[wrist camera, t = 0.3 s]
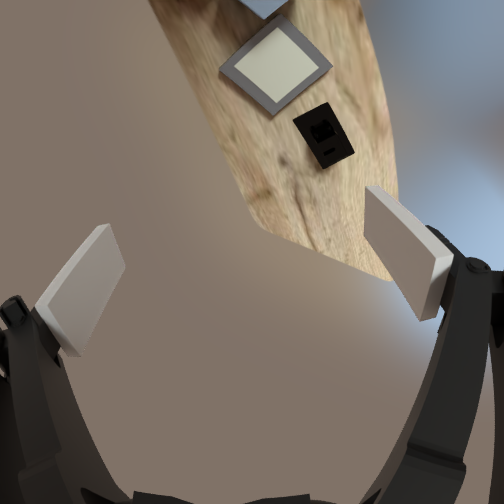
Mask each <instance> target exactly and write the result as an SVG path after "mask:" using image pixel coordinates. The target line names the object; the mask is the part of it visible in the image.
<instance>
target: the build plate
mask: <svg viewBox="0 0 504 504" xmlns="http://www.w3.org/2000/svg"><path fill="white" fill-rule="evenodd" d="M293 122H294V124H295V125H296V127H297V128H298V130H299V131H300V133H301V134H302V136H303V138H304V139H305V141H306V142H307V144H308V146H309V147H310V149H311V150H312V152H313V154H314V155H315V157H316V159H317V160H318V162H319V163H320V165H321V167H322V169H325V168H327V167H329V166H331V165H333V164H335V163H337V162H339V161H341V160H342V159H344V158H346V157H348V156H350V155H352V154H354V153H355V152H354V150H353V148H352V146H351V144H350V142H349V140H348V138H347V136H346V134H345V132H344V130H343V128H342V126H341V125H340V123H339V121H338V119H337V117H336V115H335V114H334V112H333V110H332V108H331V107H330V105H329V103H328V102H326V103H324V104H322V105H320V106H318V107H316V108H314V109H312V110H310V111H308V112H306V113H304V114H302V115H300V116H299V117H297V118H295V119H293Z"/></svg>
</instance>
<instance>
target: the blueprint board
mask: <svg viewBox="0 0 504 504" xmlns="http://www.w3.org/2000/svg"><path fill="white" fill-rule="evenodd" d="M332 67H333V65H332V64H331V63H330V62H329V61H328V60H327V59H326V58H325V57H324V56H323V54H322V53H321V52H320V51H319V50H318V49H317V48H316V47H315V46H314V45H313V44H312V43H311V42H310V41H309V40H308V39H307V38H306V37H305V36H304V35H303V34H302V33H301V32H300V31H299V30H298V29H297V28H296V27H295V26H294V25H293V24H292V23H291V22H289V21H288V20H287V19H286V18H285V17H284V16H283V15H282V14H278V15H277V16H276V17H274V18H273V19H272V20H271V21H270V22H268V23H267V24H266V25H265V26H264V27H263V28H261V29H260V30H259V31H258V32H257V33H256V34H255V35H253V36H252V37H251V38H250V39H249V40H248V41H247V42H246V43H245V44H244V45H242V46H241V47H240V48H239V49H238V50H237V51H236V52H235V53H234V54H233V55H232V56H231V57H230V58H229V59H228V60H227V61H226V62H225V63H224V64H223V65H222V66H221V67H220V68H219V70H220V71H221V72H222V73H224V74H225V75H226V76H227V77H229V78H230V79H231V80H232V81H233V82H235V83H236V84H237V85H238V86H240V87H241V88H242V89H243V90H244V91H246V92H247V93H248V94H249V95H250V96H251V97H253V98H254V99H255V100H256V101H257V102H258V103H259V104H261V105H262V106H263V107H264V108H265V109H266V110H267V111H269V112H270V113H271V114H272V115H273V116H274V115H275V114H276V113H277V112H278V111H279V110H280V109H282V108H283V107H284V106H285V105H286V104H287V103H289V102H290V101H291V100H292V99H293V98H295V97H296V96H297V95H298V94H299V93H301V92H302V91H303V90H304V89H305V88H307V87H308V86H309V85H310V84H312V83H313V82H314V81H315V80H317V79H318V78H319V77H320V76H322V75H323V74H324V73H325V72H327V71H328V70H329V69H331V68H332Z"/></svg>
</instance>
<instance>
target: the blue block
mask: <svg viewBox="0 0 504 504" xmlns="http://www.w3.org/2000/svg"><path fill="white" fill-rule="evenodd" d="M238 1H240V2H241V3H242V4H244V5H245V6H246V7H247V8H249V9H250V10H251V11H252V12H254V13H255V14H256V15H257V16H258V17H260V18H261V19H265V18H267V17H268V16H269V15H270V14H271V13H273V12H274V11H275V10H276V9H278V8H279V7H280V6H281V5H283V4H284V3H285V2H286V1H288V0H238Z"/></svg>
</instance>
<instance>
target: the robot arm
mask: <svg viewBox="0 0 504 504" xmlns="http://www.w3.org/2000/svg"><path fill="white" fill-rule="evenodd" d="M364 237H365V238H366V239H367V241H368V242H369V244H370V245H371V247H372V248H373V249H374V251H375V252H376V254H377V255H378V257H379V258H380V260H381V261H382V263H383V264H384V266H385V267H386V269H387V270H388V272H389V273H390V275H391V276H392V278H393V279H394V281H395V282H396V284H397V285H398V287H399V289H400V290H401V292H402V293H403V295H404V297H405V298H406V300H407V302H408V303H409V305H410V306H411V308H412V310H413V311H414V313H415V315H416V316H417V318H418V320H419V321H424V320H428V319H431V318H435V317H436V315H437V313H438V309H439V306H440V305H441V307H442V308H443V310H444V311H445V313H444V316H443V319H442V322H441V325H440V327H439V330H438V332H437V333H438V337H437V340H436V344H435V347H434V350H433V354H432V357H431V360H430V363H429V366H428V369H427V371H426V374H425V377H424V380H423V383H422V385H421V388H420V390H419V393H418V395H417V398H416V400H415V403H414V405H413V408H412V410H411V412H410V415H409V417H408V419H407V421H406V424H405V426H404V428H403V430H402V432H401V434H400V436H399V438H398V440H397V442H396V444H395V446H394V448H393V450H392V452H391V454H390V456H389V458H388V460H387V461H386V463H385V465H384V467H383V469H382V470H381V472H380V474H379V475H378V477H377V478H376V480H375V481H374V483H373V484H372V486H371V487H370V488H369V490H368V492H367V493H366V494H365V496H364V497H363V499H362V500H361V502H360V503H359V504H454V503H455V500H456V498H457V496H458V493H459V491H460V489H461V486H462V484H463V481H464V478H465V474H466V465H465V464H464V463H463V456H464V453H465V450H466V447H467V444H468V440H469V437H470V433H471V430H472V426H473V423H474V419H475V416H476V412H477V407H478V403H479V398H480V394H481V389H482V384H483V378H484V372H485V367H486V359H487V352H488V344H489V347H490V354H491V363H492V373H493V384H494V402H495V442H494V459H493V471H492V479H491V487H490V495H489V503H488V504H504V271H491V268H490V267H489V266H488V264H486V263H485V262H484V261H482V260H480V259H477V258H473V257H468V258H466V257H465V256H464V255H463V254H462V253H461V252H460V251H459V250H458V249H457V248H456V247H455V246H454V245H453V244H452V243H450V242H449V240H448V239H447V238H445V236H443V234H441V233H440V232H439V231H438V230H437V229H435V228H433V227H431V226H429V225H426V226H424V225H423V224H422V223H421V222H420V221H419V220H418V219H417V218H416V217H415V216H414V215H412V214H411V213H410V212H409V211H408V210H407V209H406V208H405V207H404V206H403V205H401V204H400V203H399V202H398V201H397V200H396V199H395V198H393V197H392V196H391V195H390V194H389V193H387V192H386V191H385V190H384V189H383V188H382V187H380V186H379V185H376V186H365V217H364ZM125 268H126V266H125V263H124V261H123V258H122V256H121V253H120V251H119V248H118V246H117V243H116V240H115V237H114V235H113V232H112V229H111V226H110V224H104V225H99V226H97V227H96V229H95V230H94V231H93V232H92V233H91V234H90V236H89V237H88V238H87V239H86V240H85V241H84V242H83V244H82V245H81V246H80V247H79V249H78V250H77V251H76V252H75V253H74V254H73V256H72V257H71V258H70V259H69V261H68V262H67V263H66V264H65V266H64V267H63V268H62V270H61V271H60V272H59V273H58V275H57V276H56V277H55V278H54V280H53V281H52V282H51V284H50V285H49V287H48V288H47V289H46V291H45V292H44V293H43V295H42V296H41V297H40V299H39V300H38V302H37V303H36V304H35V306H34V308H33V309H32V310H31V312H30V311H29V309H28V308H27V306H26V304H25V303H24V301H23V299H22V298H21V296H19V295H16V296H13V297H11V298H9V299H8V300H6V301H5V302H4V303H3V304H2V305H1V307H0V317H1V318H2V320H3V321H4V323H5V324H6V326H7V327H8V329H6V330H3V331H2V329H1V328H0V368H1V369H2V371H3V372H4V377H3V376H1V375H0V504H193V503H190V502H187V501H184V500H181V499H178V498H175V497H172V496H163V495H156V494H149V493H142V492H137V491H134V494H133V499H129V497H128V496H127V495H126V494H125V493H124V492H123V491H122V490H121V489H119V487H118V486H117V485H116V484H115V482H114V480H113V479H112V477H111V475H110V473H109V471H108V470H107V468H106V466H105V464H104V462H103V460H102V458H101V456H100V454H99V452H98V450H97V448H96V446H95V444H94V442H93V440H92V437H91V435H90V433H89V431H88V429H87V426H86V424H85V422H84V419H83V417H82V414H81V412H80V410H79V407H78V404H77V402H76V399H75V396H74V394H73V391H72V388H71V385H70V382H69V380H68V376H67V373H66V370H65V367H64V364H63V361H62V358H61V357H60V355H59V354H58V351H59V349H60V347H62V349H63V350H64V352H65V353H66V354H67V356H73V357H81V356H82V353H83V351H84V349H85V347H86V345H87V342H88V340H89V338H90V336H91V334H92V332H93V330H94V328H95V325H96V323H97V321H98V319H99V317H100V315H101V313H102V311H103V309H104V307H105V305H106V303H107V301H108V299H109V298H110V295H111V294H112V292H113V290H114V288H115V286H116V284H117V282H118V281H119V279H120V277H121V275H122V273H123V271H124V270H125ZM245 504H335V503H331V502H326V501H320V500H310V495H309V494H305V495H297V496H288V497H278V498H265V499H260V500H256V501H253V502H249V503H245Z"/></svg>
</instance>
